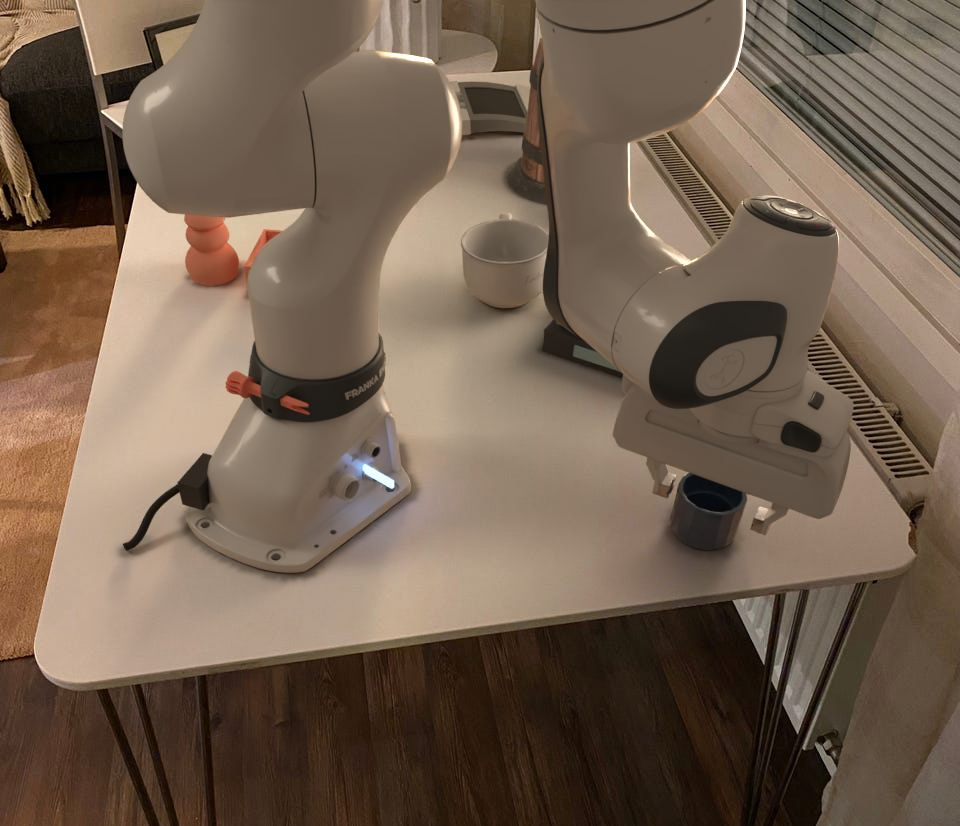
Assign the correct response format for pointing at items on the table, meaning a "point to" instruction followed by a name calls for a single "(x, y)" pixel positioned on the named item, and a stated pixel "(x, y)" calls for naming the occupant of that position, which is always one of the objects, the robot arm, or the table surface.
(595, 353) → the scale
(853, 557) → the table surface
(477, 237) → the teacup
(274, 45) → the robot arm
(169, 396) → the table surface
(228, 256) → the pottery
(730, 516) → the cup
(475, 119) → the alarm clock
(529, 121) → the tankard
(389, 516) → the table surface
